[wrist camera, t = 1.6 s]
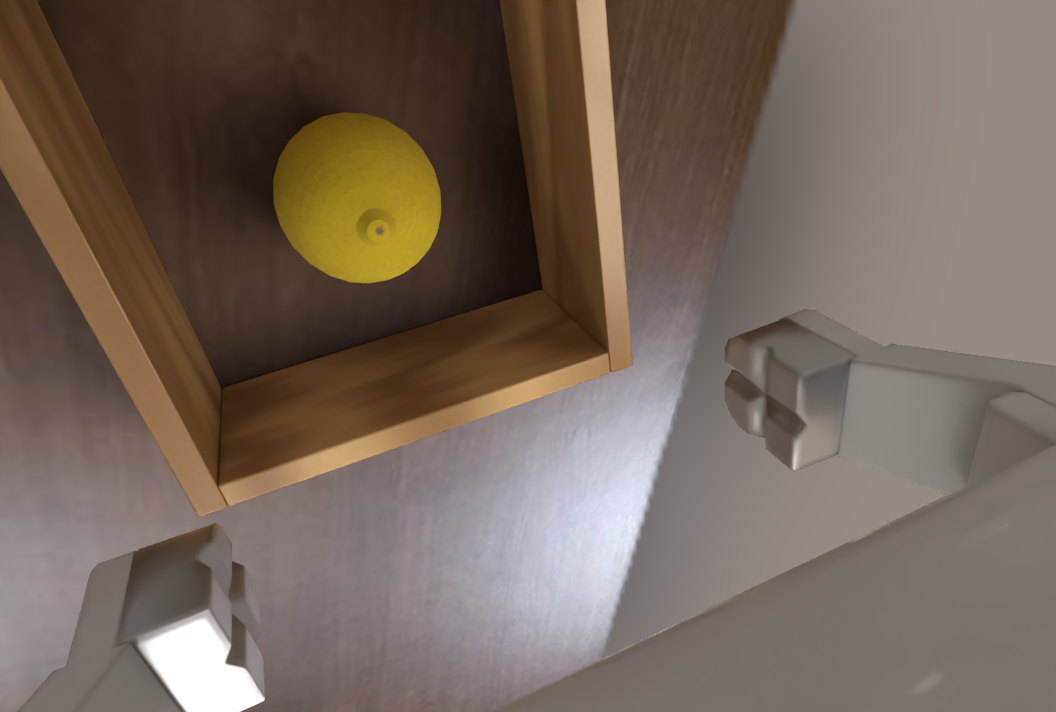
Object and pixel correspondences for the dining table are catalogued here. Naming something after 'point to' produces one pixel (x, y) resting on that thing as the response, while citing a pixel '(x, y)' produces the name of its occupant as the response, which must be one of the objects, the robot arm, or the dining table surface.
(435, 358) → the crate
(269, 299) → the dining table surface
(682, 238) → the dining table surface
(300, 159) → the lemon
